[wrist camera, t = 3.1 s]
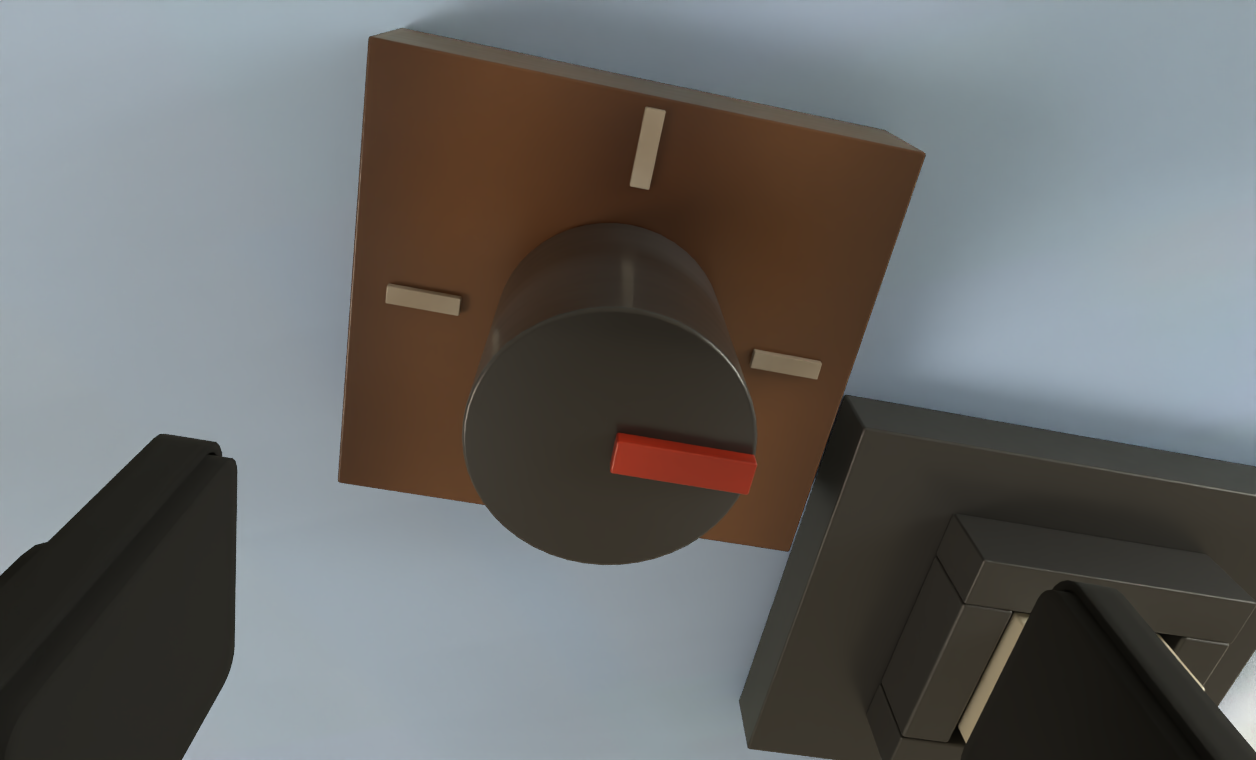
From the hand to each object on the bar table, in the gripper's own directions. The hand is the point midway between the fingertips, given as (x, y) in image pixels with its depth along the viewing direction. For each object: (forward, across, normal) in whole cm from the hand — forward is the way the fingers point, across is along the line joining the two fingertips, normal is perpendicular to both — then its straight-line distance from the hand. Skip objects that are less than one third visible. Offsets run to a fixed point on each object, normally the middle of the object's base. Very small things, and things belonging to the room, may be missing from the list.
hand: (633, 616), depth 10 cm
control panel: (+10, 0, 0) cm, 10 cm away
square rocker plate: (+11, -12, +6) cm, 17 cm away
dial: (+8, 0, 0) cm, 8 cm away
